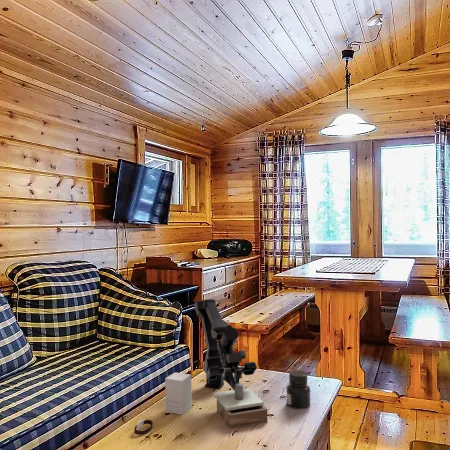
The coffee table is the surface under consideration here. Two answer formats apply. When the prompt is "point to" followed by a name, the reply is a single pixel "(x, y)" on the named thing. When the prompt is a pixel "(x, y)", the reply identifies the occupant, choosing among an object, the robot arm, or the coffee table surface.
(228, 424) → the walnut box
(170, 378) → the supplement box
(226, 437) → the coffee table surface
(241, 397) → the box lid
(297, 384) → the ink bottle
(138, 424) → the watch
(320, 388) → the coffee table surface
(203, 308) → the robot arm
